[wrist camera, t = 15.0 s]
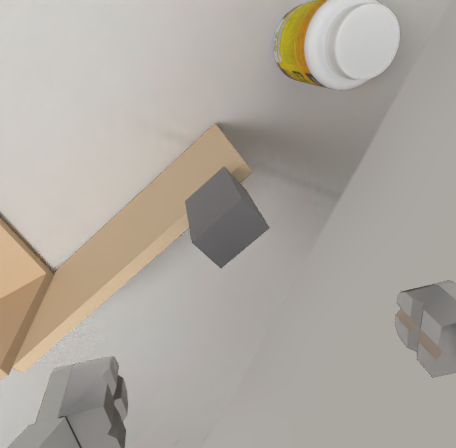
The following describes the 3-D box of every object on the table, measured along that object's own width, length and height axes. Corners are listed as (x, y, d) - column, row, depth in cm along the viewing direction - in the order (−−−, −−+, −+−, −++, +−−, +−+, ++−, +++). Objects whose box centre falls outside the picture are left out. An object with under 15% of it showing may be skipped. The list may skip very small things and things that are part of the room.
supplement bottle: (265, 77, 30) (312, 90, 21) (276, -1, 28) (333, -24, 19) (328, 84, 31) (397, 98, 22) (343, 9, 29) (427, -8, 20)
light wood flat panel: (68, 278, 35) (2, 450, 20) (50, 266, 34) (-33, 436, 19) (225, 135, 31) (286, 213, 17) (210, 117, 31) (259, 183, 16)
